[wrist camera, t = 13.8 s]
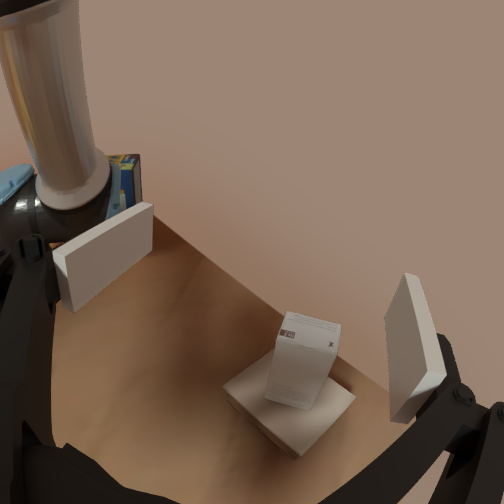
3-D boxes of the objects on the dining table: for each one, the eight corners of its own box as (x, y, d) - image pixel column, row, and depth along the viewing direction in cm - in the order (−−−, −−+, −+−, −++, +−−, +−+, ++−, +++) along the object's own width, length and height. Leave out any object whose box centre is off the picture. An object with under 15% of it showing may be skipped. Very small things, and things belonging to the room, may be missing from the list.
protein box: (88, 212, 76) (81, 156, 67) (143, 211, 79) (140, 153, 70) (76, 232, 67) (66, 171, 59) (137, 232, 70) (132, 168, 61)
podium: (221, 400, 39) (222, 385, 37) (277, 358, 46) (282, 341, 43) (294, 464, 32) (302, 455, 30) (346, 411, 39) (356, 397, 36)
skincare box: (316, 385, 38) (345, 321, 31) (309, 414, 34) (340, 354, 27) (270, 372, 39) (287, 306, 32) (260, 400, 35) (276, 337, 28)
